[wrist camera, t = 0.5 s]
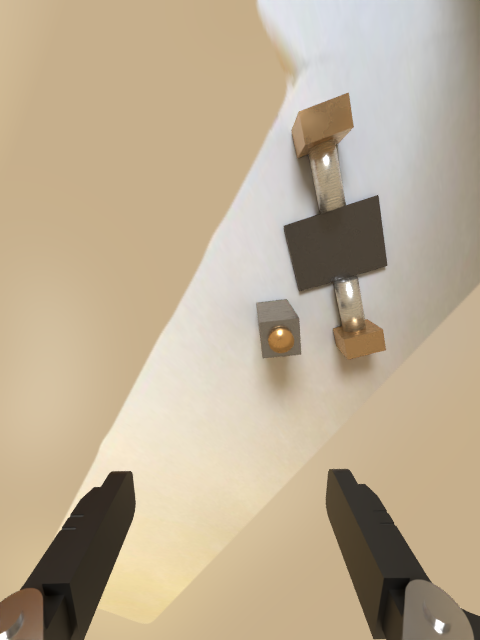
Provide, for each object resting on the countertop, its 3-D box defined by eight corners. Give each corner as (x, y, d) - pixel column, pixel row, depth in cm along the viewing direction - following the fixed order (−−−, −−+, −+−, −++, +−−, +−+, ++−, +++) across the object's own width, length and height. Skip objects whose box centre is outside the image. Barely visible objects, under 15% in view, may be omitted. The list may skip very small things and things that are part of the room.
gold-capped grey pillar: (259, 330, 37) (263, 361, 28) (256, 302, 36) (259, 324, 26) (288, 327, 37) (302, 357, 27) (286, 299, 35) (300, 320, 26)
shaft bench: (262, 140, 29) (265, 124, 25) (364, 102, 28) (385, 78, 24) (313, 352, 38) (322, 366, 34) (394, 331, 36) (413, 343, 32)
